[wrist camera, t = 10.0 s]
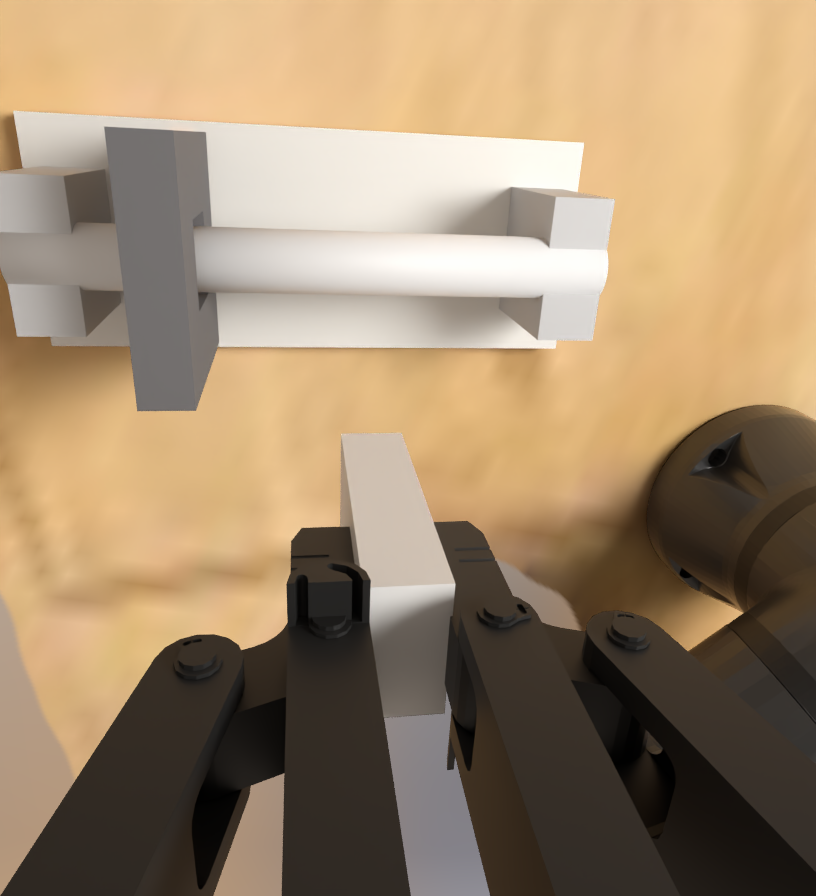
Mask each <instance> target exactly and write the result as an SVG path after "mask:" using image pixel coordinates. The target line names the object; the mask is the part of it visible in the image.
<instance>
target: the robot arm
mask: <svg viewBox="0 0 816 896" xmlns="http://www.w3.org/2000/svg"><path fill="white" fill-rule="evenodd" d="M647 529H648V534H649V538H650V541H651V544H652V546H653V548H654V550H655V551H656V553H657V555H658V556H659V557H660V559H661V560H662V561H663V562H664V563H665V564H666V565H667V566H668V568H669V569H670V570H671V571H672V572H673V573H674V574H675V575H676V576H677V577H678V578H679V579H680V580H682V581H683V582H684V583H686V584H687V585H689V586H690V587H692V588H694V589H696V590H698V591H700V592H702V593H704V594H706V595H708V596H710V597H712V598H714V599H716V600H718V601H721V602H723V603H725V604H727V605H729V606H731V607H733V608H735V609H737V610H739V611H741V612H743V614H742V615H740V616H739V617H738V618H736V619H735V620H733V621H732V622H730V623H729V624H727V625H725V626H724V627H722V628H721V629H720V630H718V631H717V632H715V633H714V634H712V635H711V636H709V637H708V638H707V639H705V640H704V641H702V642H701V643H699V644H698V645H697V646H695V647H694V648H692V649H691V650H689V651H687V650H685V649H684V648H683V647H682V646H681V645H680V644H679V643H678V642H676V641H675V640H674V639H673V638H672V637H671V636H670V635H668V634H667V633H666V632H665V631H664V630H663V629H662V628H660V627H659V626H658V625H656V624H655V623H653V622H652V621H650V620H649V619H647V618H644V617H642V616H639V615H636V614H634V613H629V612H623V611H606V612H601V613H599V614H597V615H594V616H592V618H591V619H590V620H589V622H588V623H587V627H586V632H583V631H577V630H570V629H565V628H559V627H554V626H551V625H547V624H545V623H542V622H541V620H540V618H539V616H538V614H537V613H536V612H535V610H534V609H533V608H532V607H531V606H530V604H528V603H526V602H525V601H523V600H521V599H519V598H517V597H514V596H513V595H512V593H511V591H510V589H509V587H508V585H507V583H506V581H505V579H504V576H503V574H502V572H501V570H500V568H499V566H498V564H497V562H496V561H495V557H494V555H493V553H492V551H491V550H490V549H489V545H488V543H487V541H486V539H485V536H484V534H483V533H482V532H481V531H480V530H478V529H477V528H476V527H474V526H473V525H472V524H471V523H469V522H468V521H457V522H433V520H432V517H431V514H430V511H429V508H428V506H427V503H426V500H425V497H424V494H423V492H422V489H421V486H420V483H419V480H418V478H417V475H416V472H415V469H414V466H413V464H412V461H411V458H410V455H409V453H408V450H407V447H406V444H405V441H404V439H403V436H402V433H351V434H341V511H340V527H320V528H302V529H301V530H300V531H299V532H298V534H297V535H296V536H295V537H294V539H293V540H292V541H291V574H290V576H289V579H288V581H287V614H288V623H287V625H286V626H285V628H284V629H283V630H282V631H281V632H280V633H279V634H278V635H277V636H276V637H274V638H272V639H271V640H269V641H267V642H266V643H263V644H260V645H258V646H255V647H252V648H248V649H245V650H241V649H240V647H239V645H237V644H236V643H235V642H233V641H232V640H230V639H229V638H226V637H222V636H218V635H214V634H212V635H195V636H191V637H187V638H183V639H180V640H178V641H176V642H174V643H173V644H171V645H169V646H167V647H165V648H164V649H163V650H162V651H161V652H160V653H159V655H158V656H157V657H156V658H155V659H154V660H153V662H152V664H151V665H150V667H149V668H148V670H147V671H146V673H145V674H144V676H143V677H142V679H141V680H140V682H139V684H138V685H137V687H136V688H135V690H134V691H133V693H132V694H131V696H130V697H129V699H128V700H127V702H126V703H125V705H124V707H123V708H122V710H121V711H120V713H119V714H118V716H117V717H116V719H115V720H114V722H113V723H112V725H111V727H110V728H109V730H108V731H107V733H106V734H105V736H104V737H103V739H102V740H101V742H100V743H99V745H98V747H97V748H96V750H95V751H94V753H93V754H92V756H91V757H90V759H89V760H88V762H87V763H86V765H85V767H84V768H83V770H82V771H81V773H80V774H79V776H78V777H77V779H76V780H75V782H74V783H73V785H72V787H71V788H70V790H69V791H68V793H67V794H66V796H65V797H64V799H63V800H62V802H61V803H60V805H59V807H58V808H57V810H56V811H55V813H54V814H53V816H52V817H51V819H50V820H49V822H48V824H47V825H46V827H45V828H44V830H43V831H42V833H41V834H40V836H39V837H38V839H37V840H36V842H35V843H34V845H33V847H32V848H31V850H30V851H29V853H28V854H27V856H26V857H25V859H24V860H23V862H22V863H21V865H20V866H19V868H18V870H17V871H16V873H15V874H14V876H13V877H12V879H11V880H10V882H9V883H8V885H7V887H6V888H5V890H4V891H3V893H2V894H1V896H213V895H214V892H215V889H216V886H217V883H218V881H219V878H220V875H221V872H222V870H223V867H224V864H225V861H226V859H227V856H228V853H229V850H230V848H231V845H232V842H233V839H234V836H235V834H236V831H237V828H238V825H239V823H240V820H241V817H242V814H243V811H244V809H245V806H246V803H247V801H248V798H249V794H250V786H251V785H254V784H256V783H259V782H262V781H264V780H267V779H270V778H272V777H275V776H277V775H280V774H283V773H285V776H284V777H285V778H284V820H283V821H284V822H283V823H284V824H283V864H282V896H411V895H410V888H409V882H408V875H407V868H406V862H405V855H404V848H403V842H402V835H401V829H400V822H399V815H398V809H397V802H396V795H395V788H394V782H393V775H392V769H391V762H390V755H389V749H388V742H387V735H386V729H385V722H384V718H388V717H401V716H416V715H429V714H443V713H445V701H446V691H447V694H448V698H449V702H450V705H451V709H452V712H451V724H450V735H449V745H448V757H447V770H451V769H454V759H455V757H456V761H457V765H458V769H459V773H460V777H461V781H462V785H463V789H464V793H465V797H466V801H467V805H468V809H469V813H470V817H471V821H472V825H473V829H474V833H475V837H476V841H477V845H478V849H479V852H480V857H481V860H482V865H483V869H484V872H485V876H486V880H487V884H488V888H489V892H490V896H816V421H815V420H814V419H812V418H810V417H808V416H806V415H804V414H802V413H801V412H799V411H796V410H794V409H790V408H787V407H782V406H775V405H758V406H751V407H746V408H742V409H738V410H735V411H732V412H729V413H727V414H724V415H722V416H720V417H718V418H716V419H714V420H712V421H710V422H708V423H707V424H705V425H704V426H702V427H701V428H699V429H698V430H697V431H695V432H694V433H693V434H691V435H690V436H689V437H688V438H687V439H686V440H685V441H684V442H683V443H682V444H681V445H680V446H679V447H678V448H677V449H676V450H675V451H674V452H673V453H672V455H671V456H670V457H669V459H668V460H667V461H666V463H665V464H664V466H663V467H662V469H661V471H660V473H659V474H658V476H657V478H656V481H655V483H654V485H653V488H652V491H651V494H650V498H649V502H648V508H647Z"/></svg>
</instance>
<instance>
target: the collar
mask: <svg viewBox="0 0 816 896" xmlns="http://www.w3.org/2000/svg"><path fill="white" fill-rule="evenodd" d="M104 130H105V139H106V147H107V156H108V164H109V173H110V181H111V190H112V198H113V207H114V215H115V224H116V232H117V241H118V249H119V258H120V267H121V275H122V284H123V292H124V301H125V309H126V318H127V326H128V335H129V343H130V352H131V360H132V369H133V377H134V386H135V394H136V403H137V411H196V409H197V406H198V403H199V400H200V397H201V394H202V391H203V388H204V385H205V382H206V379H207V377H208V374H209V371H210V368H211V365H212V362H213V359H214V356H215V353H216V350H217V347H218V344H219V331H218V315H217V299H216V292H198V285H197V272H196V258H195V245H194V231H193V226H208V227H212V221H211V205H210V189H209V173H208V158H207V142H206V132H195V131H178V130H160V129H141V128H123V127H104Z"/></svg>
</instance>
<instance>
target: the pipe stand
mask: <svg viewBox="0 0 816 896" xmlns="http://www.w3.org/2000/svg"><path fill="white" fill-rule="evenodd" d="M13 113H14V119H15V125H16V131H17V137H18V143H19V149H20V155H21V161H22V167H23V169H14V170H6V171H0V269H1V272H2V275H3V277H4V279H5V281H6V283H7V284H8V290H9V295H10V301H11V306H12V311H13V317H14V322H15V328H16V333H17V337H51V344H52V346H130V343H129V335H128V326H127V318H126V309H125V301H124V292H123V284H122V275H121V267H120V258H119V249H118V241H117V232H116V224H115V215H114V207H113V198H112V190H111V181H110V173H109V164H108V156H107V147H106V139H105V130H104V127H123V128H141V129H160V130H178V131H195V132H206V142H207V158H208V173H209V189H210V205H211V221H212V227H208V226H193V231H194V245H195V258H196V272H197V285H198V292H216V299H217V315H218V331H219V344H218V347H358V348H556V341H557V340H587V341H592V339H593V333H594V327H595V320H596V314H597V308H598V302H599V296H600V294H601V292H602V290H603V288H604V286H605V283H606V279H607V273H608V253H607V246H608V240H609V233H610V227H611V221H612V215H613V209H614V202H615V199H611V198H605V197H600V196H595V195H590V194H585V193H579V192H577V191H578V184H579V176H580V169H581V162H582V155H583V148H584V143H578V142H560V141H542V140H524V139H507V138H489V137H471V136H453V135H435V134H417V133H400V132H382V131H364V130H346V129H328V128H311V127H293V126H275V125H257V124H239V123H221V122H204V121H186V120H168V119H150V118H132V117H114V116H97V115H79V114H61V113H43V112H25V111H13Z"/></svg>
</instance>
